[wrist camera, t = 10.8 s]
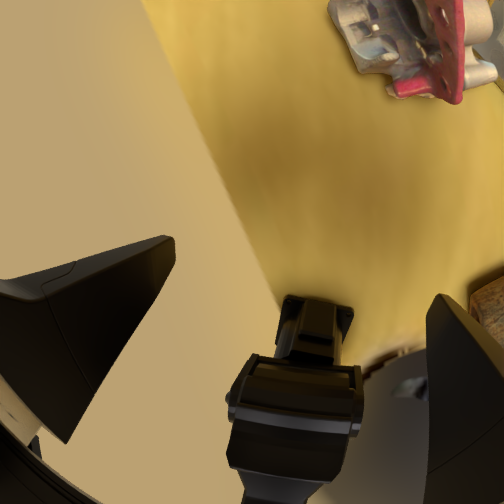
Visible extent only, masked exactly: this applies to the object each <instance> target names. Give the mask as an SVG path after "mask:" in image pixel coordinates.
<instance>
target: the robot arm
mask: <svg viewBox="0 0 504 504" xmlns="http://www.w3.org/2000/svg"><path fill="white" fill-rule="evenodd" d="M175 261H176V254H175V240H174V238H173V237H171V236H166V235H160V236H157V237H153V238H150V239H146V240H143V241H139V242H136V243H133V244H129V245H126V246H122V247H119V248H115V249H112V250H109V251H105V252H102V253H99V254H95V255H93V256H89V257H86V258H82V259H79V260H77V261H73V262H70V263H67V264H63V265H60V266H57V267H53V268H50V269H46V270H43V271H40V272H35V273H32V274H28V275H24V276H21V277H17V278H13V279H8V280H2V279H0V504H103V503H101V502H99V501H98V500H96V499H95V498H93V497H91V496H90V495H88V494H87V493H85V492H84V491H82V490H81V489H79V488H78V487H76V486H75V485H73V484H72V483H71V482H69V481H68V480H67V479H65V478H64V477H63V476H61V475H60V474H59V473H57V472H56V471H55V470H53V469H52V468H51V467H50V466H49V465H47V464H46V463H45V462H44V461H43V460H42V456H41V451H40V444H39V437H38V436H37V435H36V434H37V432H38V431H39V429H40V428H41V427H43V428H45V429H46V430H47V431H48V432H50V433H51V434H52V435H53V436H55V437H56V438H57V439H59V440H60V441H61V442H63V443H64V444H67V443H68V441H69V439H70V438H71V436H72V434H73V432H74V430H75V429H76V427H77V425H78V423H79V421H80V420H81V418H82V416H83V414H84V413H85V411H86V409H87V407H88V406H89V404H90V402H91V401H92V399H93V397H94V394H95V393H96V392H97V390H98V388H99V387H100V385H101V384H102V382H103V380H104V379H105V377H106V375H107V374H108V372H109V371H110V369H111V367H112V366H113V364H114V362H115V361H116V359H117V358H118V356H119V354H120V353H121V351H122V350H123V348H124V346H125V345H126V343H127V342H128V340H129V339H130V337H131V336H132V334H133V333H134V331H135V330H136V328H137V327H138V325H139V323H140V322H141V320H142V319H143V317H144V316H145V314H146V313H147V311H148V310H149V308H150V307H151V305H152V304H153V302H154V301H155V299H156V298H157V296H158V294H159V293H160V291H161V289H162V287H163V285H164V283H165V281H166V279H167V277H168V276H169V274H170V272H171V270H172V268H173V266H174V264H175ZM288 300H290V301H291V302H288ZM347 313H351V314H347ZM353 317H354V310H353V309H351V308H347V307H342V306H337V305H333V304H328V303H323V302H318V301H313V300H309V299H304V298H299V297H295V296H289V295H288V296H286V297H285V298H284V301H283V305H282V310H281V315H280V320H279V325H278V330H277V335H276V340H275V344H276V346H277V347H276V351H275V354H274V358H271V357H265V356H259V354H254V353H253V354H252V355H251V357H250V358H249V360H247V362H246V363H245V365H244V367H243V368H242V370H241V372H240V373H239V375H238V377H237V378H236V380H235V381H234V383H233V385H232V387H231V390H230V391H229V392H228V393H227V394H226V398H225V401H226V402H227V404H228V419H229V422H231V423H233V425H232V430H231V436H230V440H229V444H228V447H227V451H226V456H227V460H228V463H229V466H230V468H232V469H236V470H237V471H238V474H239V476H240V478H241V481H242V483H243V485H244V488H245V490H244V494H243V498H242V502H241V504H306V503H307V500H308V498H309V497H310V496H311V495H312V494H314V493H315V492H316V491H317V490H318V489H319V488H320V487H321V486H322V485H323V484H329V483H331V482H332V481H333V479H334V478H335V477H336V476H337V475H338V474H339V472H340V471H341V467H342V465H343V462H344V458H345V454H346V450H347V446H348V442H349V440H354V439H355V438H356V437H357V435H358V432H359V429H360V426H361V422H362V417H363V410H364V391H363V382H362V374H361V366H357V365H354V366H341V365H340V364H341V348H342V344H343V341H344V339H345V337H346V334H347V332H348V329H349V327H350V325H351V322H352V320H353ZM426 357H427V371H428V387H429V451H428V452H429V453H428V466H427V476H426V486H425V493H424V500H423V504H504V348H503V347H502V346H501V345H500V344H499V343H498V342H497V341H496V340H495V339H494V338H493V337H492V336H491V335H490V334H489V333H488V332H487V331H486V330H485V329H484V328H483V327H482V326H481V325H480V324H479V323H478V322H477V321H476V320H475V319H474V318H473V317H472V316H471V315H470V314H468V313H467V312H466V311H465V310H464V309H463V308H462V307H461V306H460V305H459V304H458V303H456V302H455V301H454V300H453V299H452V298H451V297H450V296H448V295H445V294H440V293H439V294H437V295H436V296H435V298H434V300H433V302H432V304H431V306H430V308H429V310H428V312H427V315H426Z"/></svg>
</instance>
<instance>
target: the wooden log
mask: <svg viewBox="0 0 504 504" xmlns="http://www.w3.org/2000/svg"><path fill="white" fill-rule="evenodd" d="M470 315H471V316H472V317H473V318H474V319H475V320H476V321H477V322H478V323H479V324H480V325H481V326H482V327H483V328H484V329H485V330H486V331H487V332H488V333H489V334H490V335H491V336H492V337H493V338H494V339H495V340H496V341H497V342H498V343H499V344H500V345H501V346H502V347H503V348H504V276H502V277H500V278H498V279H496V280H494V281H492V282H491V283H489V284H487V285H485V286H484V287H482V288H480V289H479V290H477V291H476V292H474V293H473V294H472V295H471V296H470Z"/></svg>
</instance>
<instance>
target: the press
mask: <svg viewBox="0 0 504 504" xmlns="http://www.w3.org/2000/svg"><path fill="white" fill-rule="evenodd" d="M488 5H489V7H490V10H491V14H492V18H493V32H492V35H491V36H490V38H489V39H488V40H487V41H486V42H484V43H480V44H474V45H473V47H472V52H473V55H474V57H476V58H478V59H480V60H484V61H487V62H490V63H492V64H494V65H495V67H496V69H497V72H498V78H497V80H496V81H494V82H495V83H496V84H497V85H498V86H499V87H500V89H501V90H502V91H503V92H504V0H489V1H488Z"/></svg>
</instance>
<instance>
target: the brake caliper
mask: <svg viewBox="0 0 504 504" xmlns="http://www.w3.org/2000/svg"><path fill="white" fill-rule="evenodd" d="M327 11H328V13H329V15H330V17H331V18H332V20H333V22H334V24H335V26H336V27H337V29H338V30H339V32H340V33H341V34H342V36H343V37H344V39H345V41H346V43H347V45H348V48H349V50H350V53H351V55H352V58H353V60H354V62H355V65H356V67H357V69H358V71H359V72H360V73H362V74H365V73H384V74H388V75H390V76H391V77H392V79H393V83H391V84H388V85H386V86H385V89H386V91H387V92H388V94H389V95H391V96H393V97H395V98H397V99H401V100H404V99H406V98H407V97H409V96H413V95H419V96H421V97H424V98H433V97H437V98H439V99H443V100H444V101H446V102H448V103H450V104H452V105H457V104H459V103H460V102H461V101H462V99H463V97H462V91H465V90H468V89H470V88H475V87H478V86H481V85H486V84H488V83H491V82H494V81H496V80H497V78H498V72H497V69H496V67H495V65H494V64H492V63H490V62H487V61H484V60H480V59H478V58H476V57H474V55H473V52H472V47H473V45H474V44H480V43H484V42H486V41H487V40H488V39H489V38H490V36H491V35H492V32H493V18H492V14H491V10H490V7H489V5H488V2H487V0H330V1H329V3H328V7H327Z"/></svg>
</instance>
